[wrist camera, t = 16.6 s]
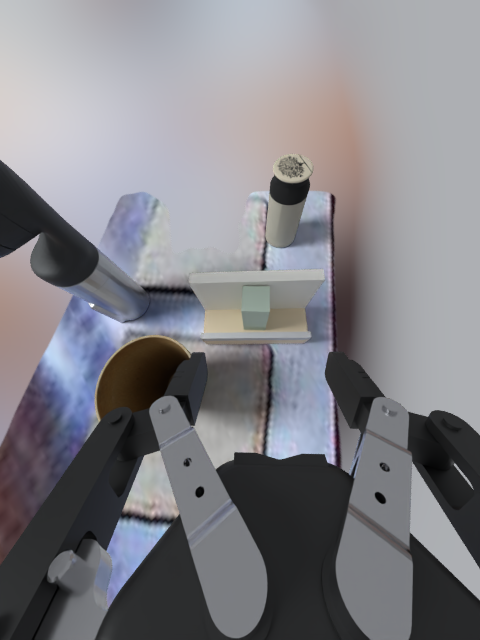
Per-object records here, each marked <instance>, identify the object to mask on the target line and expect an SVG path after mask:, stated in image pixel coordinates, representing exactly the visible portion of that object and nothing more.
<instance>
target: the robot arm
mask: <svg viewBox="0 0 480 640" xmlns="http://www.w3.org/2000/svg"><path fill="white" fill-rule="evenodd" d="M38 234H40V235H39V239H38V241H37V243H36V245H35V247H34V249H33V251H32V254H31V259H30V263H31V268H32V270H33V271H34V273H35V274H36V275H37V276H38V277H40V278H41V279H43V280H44V281H46V282H48V283H50V284H52V285H55V286H57V287H59V288H61V289H63V290H65V291H67V292H69V293H71V294H73V295H75V296H77V297H79V298H81V299H83V300H84V301H86V302H88V303H89V305H90V307H91V308H92V309H93V310H95V311H98V312H100V313H102V314H104V315H106V316H108V317H110V318H112V319H114V320H117V321H119V322H121V323H123V322H125V321H128V320H134V319H137V318H139V317H140V316H142V315H143V314H144V313H145V312H146V310H147V308H148V306H149V302H150V300H149V295H148V293H147V292H146V291H145V290H144V289H143V288H142V287H141V286H140V285H138V284H137V283H136V282H135V281H134V280H133V279H132V278H130V277H129V276H128V275H127V274H126V273H125V272H124V271H122V270H121V269H120V268H119V267H118V266H117V265H116V264H114V263H113V262H112V261H111V260H110V259H109V258H108V257H107V256H105V255H104V254H103V253H102V252H101V251H100V250H99V249H97V248H96V247H95V246H94V245H93V244H92V243H91V242H89V241H88V240H87V239H86V238H85V237H83V236H82V235H81V234H80V233H79V232H78V231H77V230H75V229H74V228H73V227H72V226H71V225H70V224H69V223H67V222H66V221H65V220H64V219H63V218H62V217H61V216H60V215H59V214H58V213H57V212H56V211H55V210H54V209H53V208H52V207H50V206H49V205H48V204H47V203H46V202H45V201H44V200H43V199H42V198H41V197H40V196H39V195H38V194H37V193H36V192H35V191H34V190H33V189H32V188H31V187H30V186H29V185H28V184H27V183H26V182H25V181H23V180H22V179H21V178H20V177H19V176H18V175H17V174H16V173H15V172H14V171H13V170H12V169H10V168H9V167H8V166H7V165H6V164H4V163H3V162H2V161H1V160H0V258H1V257H4V256H6V255H8V254H10V253H11V252H13V251H15V250H16V249H18V248H19V247H21V246H22V245H24V244H25V243H27V242H28V241H30V240H31V239H33V238H34V237H35V236H37V235H38ZM207 375H208V372H207V364H206V357H205V353H204V352H193V353H192V355H191V357H190V359H189V360H184V361H183V362H182V363H181V364H180V365H179V366H178V368H177V370H176V373H175V374H174V376H173V378H172V380H171V382H170V384H169V386H168V388H167V390H166V392H165V394H164V396H163V397H161V398H159V399H158V400H156V401H155V402H154V403H153V404H152V405H151V407H150V408H148V409H145V410H141V411H137V412H134V413H132V411H131V409H130V408H128V407H119V408H116V409H114V410H112V411H110V412H109V413H107V414H106V415H105V416H104V417H103V418H102V419H101V421H100V422H99V424H98V425H97V426H96V428H95V429H94V431H93V432H92V434H91V435H90V437H89V438H88V439H87V441H86V442H85V444H84V445H83V447H82V448H81V450H80V451H79V452H78V454H77V455H76V457H75V458H74V460H73V461H72V463H71V464H70V466H69V467H68V468H67V470H66V471H65V473H64V474H63V476H62V477H61V479H60V480H59V481H58V483H57V484H56V486H55V487H54V489H53V490H52V492H51V493H50V494H49V496H48V497H47V499H46V500H45V502H44V503H43V505H42V506H41V507H40V509H39V510H38V512H37V513H36V515H35V516H34V518H33V519H32V521H31V522H30V523H29V525H28V526H27V528H26V529H25V531H24V532H23V534H22V535H21V536H20V538H19V539H18V541H17V542H16V544H15V545H14V547H13V548H12V549H11V551H10V552H9V554H8V555H7V557H6V558H5V560H4V561H3V562H2V564H1V565H0V640H480V600H479V599H478V598H477V597H476V596H475V595H473V593H472V592H471V591H469V590H468V589H467V588H466V587H465V586H464V585H463V584H462V583H461V582H460V581H459V580H458V579H457V578H456V577H455V576H454V575H453V574H452V573H451V572H450V571H449V570H448V569H447V568H446V567H445V566H444V565H443V564H442V563H441V562H440V561H438V559H437V558H435V556H433V555H432V554H431V553H430V552H429V551H428V550H427V549H426V548H425V547H424V546H423V545H422V544H421V543H420V542H419V541H418V540H417V539H416V538H415V537H414V536H413V535H412V534H411V533H410V507H411V476H412V475H411V474H412V462H413V464H414V465H415V467H416V468H417V470H418V471H419V473H420V475H421V476H422V478H423V479H424V481H425V482H426V484H427V486H428V487H429V489H430V490H431V492H432V493H433V495H434V497H435V498H436V500H437V501H438V503H439V505H440V506H441V508H442V509H443V511H444V512H445V514H446V515H447V517H448V519H449V520H450V522H451V524H452V525H453V527H454V528H455V530H456V532H457V533H458V535H459V536H460V538H461V539H462V541H463V543H464V544H465V546H466V547H467V549H468V551H469V552H470V554H471V555H472V557H473V558H474V560H475V562H476V563H477V565H478V566H479V568H480V435H479V434H478V433H477V432H476V431H475V430H474V429H473V428H472V427H471V426H470V425H468V424H467V423H466V422H465V421H464V420H462V419H460V418H459V417H457V416H455V415H453V414H451V413H448V412H445V411H439V410H435V411H432V412H431V413H430V415H429V416H428V417H426V416H422V415H418V414H414V413H410V412H407V410H406V409H405V408H404V407H403V406H402V405H401V404H399V403H398V402H396V401H394V400H392V399H389V398H386V397H385V396H384V395H383V393H382V392H381V391H380V390H379V388H378V387H377V386H376V384H375V383H374V382H373V381H372V380H371V379H370V377H369V376H368V374H367V373H365V371H364V369H363V368H362V367H361V366H360V365H359V364H358V363H356V362H355V361H353V360H349V359H348V357H347V356H346V355H345V353H344V352H329V355H328V359H327V364H326V369H325V377H326V381H327V383H328V385H329V387H330V389H331V391H332V393H333V395H334V397H335V399H336V401H337V403H338V405H339V407H340V409H341V411H342V413H343V415H344V417H345V419H346V421H347V423H348V425H349V427H350V428H353V429H359V430H360V432H361V434H360V437H359V440H358V444H357V448H356V451H355V455H354V459H353V462H352V466H351V469H350V472H349V474H348V473H347V472H345V471H343V470H342V469H340V468H339V467H337V466H335V465H332V464H330V463H327V460H326V457H325V454H300V455H296V456H293V457H289V458H286V459H282V460H278V459H275V458H271V457H268V456H265V455H261V454H258V453H237V452H235V453H234V460H232V461H229V462H227V463H225V464H223V465H221V466H220V467H218V468H217V469H216V470H215V468H214V466H213V464H212V462H211V460H210V458H209V456H208V454H207V452H206V450H205V448H204V446H203V444H202V443H201V441H200V439H199V437H198V435H197V433H196V431H195V429H194V428H193V427H191V426H195V423H196V419H197V415H198V411H199V408H200V404H201V400H202V397H203V393H204V389H205V385H206V382H207ZM159 450H160V451H161V455H162V458H163V461H164V464H165V468H166V471H167V474H168V477H169V481H170V484H171V487H172V490H173V494H174V497H175V500H176V503H177V507H178V510H179V513H180V514H179V515H178V517H177V518H176V519H175V521H174V522H173V523H172V524H171V526H170V527H169V528H168V529H167V531H166V532H165V533H164V535H163V536H162V537H161V538H160V540H159V541H158V542H157V544H156V545H155V546H154V547H153V549H152V550H151V551H150V552H149V554H148V555H147V556H146V558H145V559H144V560H143V561H142V563H141V564H140V565H139V567H138V568H137V569H136V570H135V572H134V573H133V574H132V576H131V577H130V578H129V579H128V581H127V582H126V583H125V584H124V586H123V587H122V588H121V590H120V591H119V593H118V594H117V596H116V597H115V599H114V600H113V602H112V604H111V605H110V607H109V609H108V606H107V590H108V585H109V581H110V577H111V572H112V560H111V557H110V555H109V554H108V553H107V552H106V550H107V548H108V545H109V543H110V540H111V538H112V535H113V533H114V530H115V528H116V525H117V523H118V520H119V518H120V515H121V513H122V510H123V508H124V505H125V502H126V500H127V497H128V495H129V492H130V490H131V487H132V485H133V482H134V480H135V477H136V475H137V472H138V470H139V467H140V465H141V462H142V460H143V457H144V455H147V454H150V453H153V452H156V451H159ZM454 463H455V464H456V465H457V466H458V467H459V469H460V470H461V471H462V472H463V473H464V475H465V476H466V477H467V478H468V480H469V481H470V482H471V484H472V486H473V489H474V490H473V489H472V488H471V486H470V485H469V484H468V483H467V481H466V480H465V479H464V478H463V476H462V475H461V474H460V472H459V471H458V470H457V469H456V467H455V466H454V465H453V464H454Z"/></svg>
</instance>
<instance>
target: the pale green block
mask: <svg viewBox="0 0 480 640" xmlns="http://www.w3.org/2000/svg"><path fill="white" fill-rule="evenodd" d="M241 312H242V320H243V327H244V330H265V329H266V325H267V321H268V317H269V313H270V286H243V290H242V308H241Z"/></svg>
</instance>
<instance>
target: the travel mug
mask: <svg viewBox="0 0 480 640" xmlns="http://www.w3.org/2000/svg"><path fill="white" fill-rule="evenodd" d="M273 171H274V177H273V178H272V180H271V183H270V193H269V204H268V214H267V225H266V240H267V242H268V243H269V244H270V245H272V246H274V247H279V248H282V247H286V246H289V245H290V244H291V243H292V242H293V241H294V238H295V235H296V232H297V228H298V225H299V221H300V218H301V215H302V211H303V208H304V205H305V201H306V198H307V194H308V191H309V188H310V182H309V177H310V176H311V175H312V173H313V164H312V162H311V161H310V160H309V159H308V158H307V157H305V156H302V155H299V154H288V155H285V156H282V157H280V158H279V159H278V160H277V161H276V162H275V163H274V166H273Z"/></svg>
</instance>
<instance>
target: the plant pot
mask: <svg viewBox="0 0 480 640" xmlns="http://www.w3.org/2000/svg"><path fill="white" fill-rule="evenodd" d="M190 357H191V354H190V352H189V351H188V350H187V349H186V348H185V347H184V346H183V345H182V344H180V343H179V342H178V341H176V340H174V339H172V338H169V337H166V336H161V335H149V336H143V337H140V338H137V339H134V340H132V341H130V342H128V343H127V344H125V345H124V346H122V347H121V348H120V349H119V350H117V351H116V352H115V353H114V354H113V355H112V357H111V358H110V359H109V360H108V361H107V363H106V365H105V366H104V368H103V370H102V372H101V374H100V376H99V379H98V382H97V386H96V391H95V409H96V414H97V418H98V421H99V422H100V421H101V419H102V418H103V417H104V416H105V415H106V414H107V413H109V412H110V411H112V410H114V409H116V408H119V407H128V408H130V409H131V411H132V413H134V412H137V411H141V410H145V409H148V408H150V407H151V405H152V404H153V403H154V402H155V401H156V400H158V399H159V398H161V397H163V396H164V394H165V392H166V390H167V388H168V386H169V384H170V382H171V380H172V378H173V376H174V374H175V373H176V370H177V368H178V366H179V365H180V364H181V363H182V362H183V361H184V360H189V359H190Z"/></svg>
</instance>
